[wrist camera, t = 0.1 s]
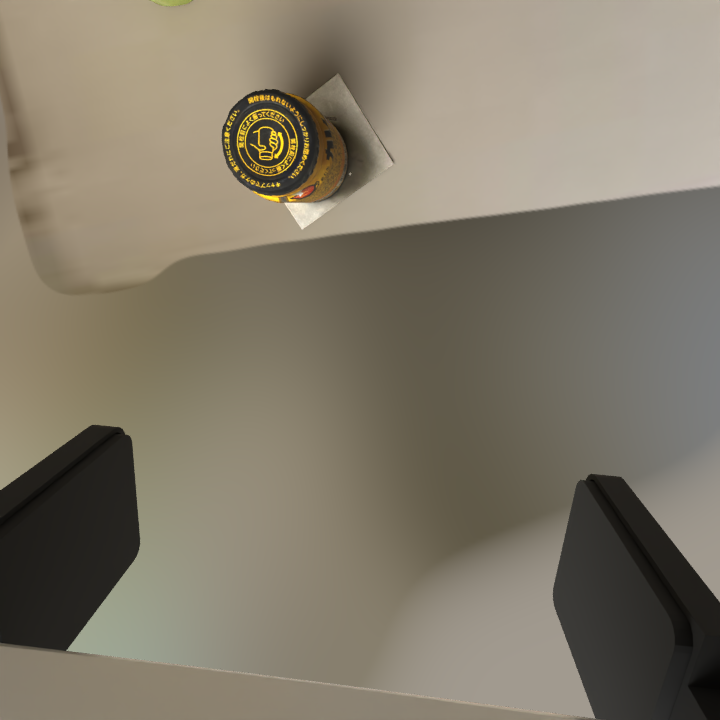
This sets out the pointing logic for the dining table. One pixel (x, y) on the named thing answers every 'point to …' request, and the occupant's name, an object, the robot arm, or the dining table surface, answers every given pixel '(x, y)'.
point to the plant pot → (171, 2)
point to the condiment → (302, 148)
